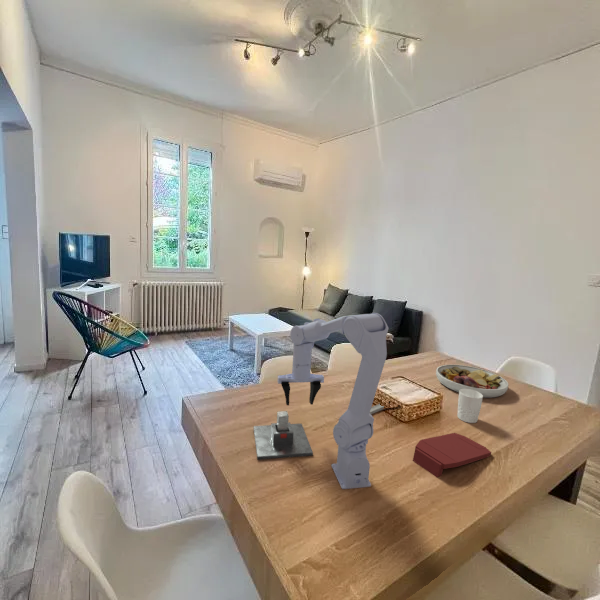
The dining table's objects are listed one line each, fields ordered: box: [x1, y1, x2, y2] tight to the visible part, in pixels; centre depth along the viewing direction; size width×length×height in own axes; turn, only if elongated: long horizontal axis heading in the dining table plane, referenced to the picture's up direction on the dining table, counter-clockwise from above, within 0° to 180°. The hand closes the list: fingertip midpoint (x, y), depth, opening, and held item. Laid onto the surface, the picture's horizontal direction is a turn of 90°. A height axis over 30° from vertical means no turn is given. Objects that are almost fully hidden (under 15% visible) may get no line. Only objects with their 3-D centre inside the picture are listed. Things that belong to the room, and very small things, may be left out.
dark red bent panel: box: [412, 432, 492, 478], centre depth 102 cm, size 12×5×25 cm
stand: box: [253, 421, 314, 461], centre depth 104 cm, size 16×16×4 cm
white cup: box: [457, 389, 484, 424], centre depth 125 cm, size 8×8×10 cm
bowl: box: [435, 364, 509, 399], centre depth 157 cm, size 30×30×8 cm
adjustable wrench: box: [370, 403, 384, 415], centre depth 128 cm, size 25×6×2 cm, turn 124°
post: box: [276, 410, 289, 432], centre depth 103 cm, size 3×3×8 cm
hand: (299, 403), depth 107 cm, fingers open, 7 cm apart
